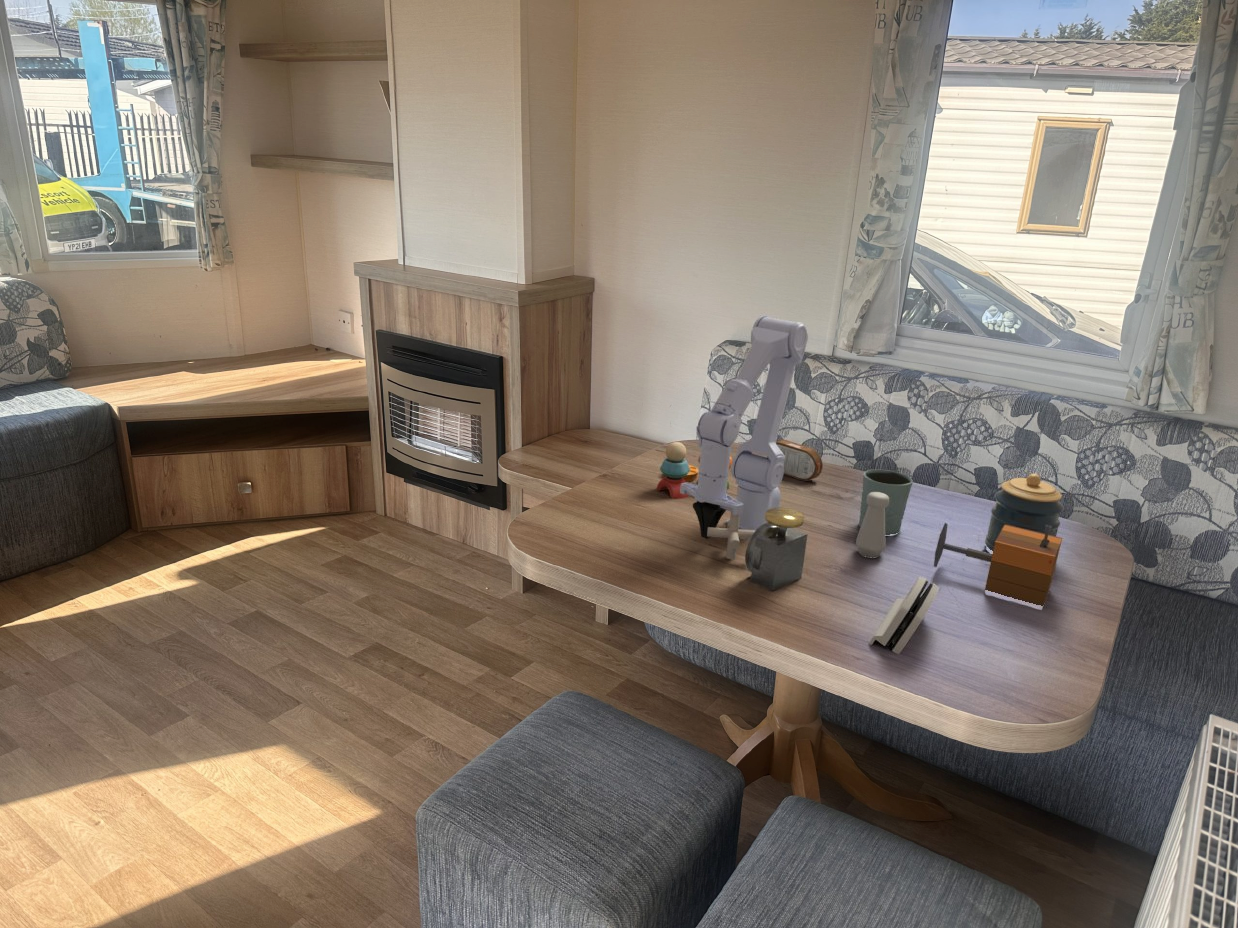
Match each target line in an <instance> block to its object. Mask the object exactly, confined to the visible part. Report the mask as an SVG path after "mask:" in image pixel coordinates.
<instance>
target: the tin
mask: <svg viewBox="0 0 1238 928" xmlns="http://www.w3.org/2000/svg"><path fill="white" fill-rule="evenodd" d="M776 445H777V446H778V447H779V449H780V450H781V451H782V453H783V454H784V456H785V461H784V474H783V476H784V475H785V476H787V477H791V478H794V479H796V480H800V481H803V482H809V481H812V480H814V479H816V478H818V477H819V476H820V475H821V473H822V471H823V467H824V465H823V460H822V457H821V455H820V454H819V453H818V452H817V450H815V449H814V448H813V447H811V446H806V445H804V444H800V443H797V442H793V441H790V440H787V439H778V440H776ZM766 458H769V457H767V456H766Z"/></svg>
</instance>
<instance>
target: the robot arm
mask: <svg viewBox="0 0 1238 928" xmlns="http://www.w3.org/2000/svg"><path fill="white" fill-rule="evenodd" d="M808 334H809V333H808V331H807V327H806V324H805V323H803V322H802V321H798V322H796V321H791V320H786V319H781V318H775V317H768V316H767V315H761V316H759V317H758V318H757V319H756V321H755V322H754V324H753V326H752V329H751V331H750V344H751V346H750V348H749V350H748V353H747V355H746V357H745V359H744V361H743V363H742V366H741V367H740V369H739V372H738V374H737V376H736V378H734V379H730V380H729V381H727V382H726V384H725V386H724V387H723V389H722V391H721V392H720V394H719V396H718V398H717V399H716V401H715V402H714V404H713V406H712V408H711V409H710V410H708V411H706V412H704V413H702V414H701V416H700V417H699V418H698V423H697V426H696V427H695V428H696V429H695V431H696V435H697V438H698V447H699V449H700V455H699V457H700V464H699V465H698V466H699V467H698V470H699V473H698V475H697V481H698V485H696V484H694V483H692V482H686V483H683V484H681V488H680V493H682V494H688V495H689V496H691V497H694V500H695V501H696V502H693V503H692V508H693V510H694V513H695V514H696V518H697V521H698V524H699V529H700V535H701V538H703V539H706V540H707V539H711V538H712V537H708V536H707V530H708V527H713V528H717V527H718V524H719V522H720V520H721V518H722V517H723V516H724V514H725V513H726V511H728V512H730V513H731V512H732V511H733V512H732V514H734V515H739V514H740V521H739V529H741V530H754V531H756V530H757V529H758V528H759V527H760V526H761V525H763V524H765V523H768V522H767V521H766V520H765V512H766V511H767V510H768V509H772V508H780V506H781V491H780V489H779V486H780V484H781V483H782V480H783V478H784V461H785V456H784V454H783V453H782V451H781V450H780V449H779V447H778V446H777V445H776V441H778V440H777V439H778V435H779V432H780V428H781V423H782V419H783V416H784V411H785V408H786V405H787V401H788V396H789V394H790V393H789V392H790V389H791V385H792V381H793V378H794V373H795V369H796V366H798V365H801V364H802V362H803V359H804V355H805V351H806V347H807V343H808V340H809V338H808V337H809V335H808ZM768 365H769V369H768V372H767V377H766V381H765V384H764V389H763V392H762V396H761V400H760V405H759V408H758V413H757V415H756V421H755V424H754V427H753V431H752V434H751V435H752V436H751V438H750V439H748V440H746V441H744V442H742V443H741V444H739V445H738V449H737V452H736V453H735V456H734V457H733V458H732V465H731V468H730V469H729V462H730V456H731V454H732V453H731V452H732V445H733V444H734V443H735V441H736V440H737V439H738V437H739V433H740V428H741V425H742V421H743V420H742V417H743V415H744V413H745V412H746V410H747V408H748V406H749V404H750V403H751V401H752V400H753V398H754V391H753V386H754V385H755V384H756V382H757V381H758V379H759V378H760V377H761V375H762V374H763V372H764V371H765V370H766V368H767V366H768ZM754 453H755V454H754ZM758 454H759V455H758ZM765 456H766V457H765ZM767 457H769V458H767ZM729 470H730V471H731V476H732V477H733V478H734V480H735V481H734V482H735V484H736V485H737V495H736V499H735V498H734V497H733V496H731V495H729V494H728V493H727V490H728V489H727V481H728V482H729V473H730V472H729ZM728 521H730V518H729V519H726V520H725V523H726V524H727V523H728Z"/></svg>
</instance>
